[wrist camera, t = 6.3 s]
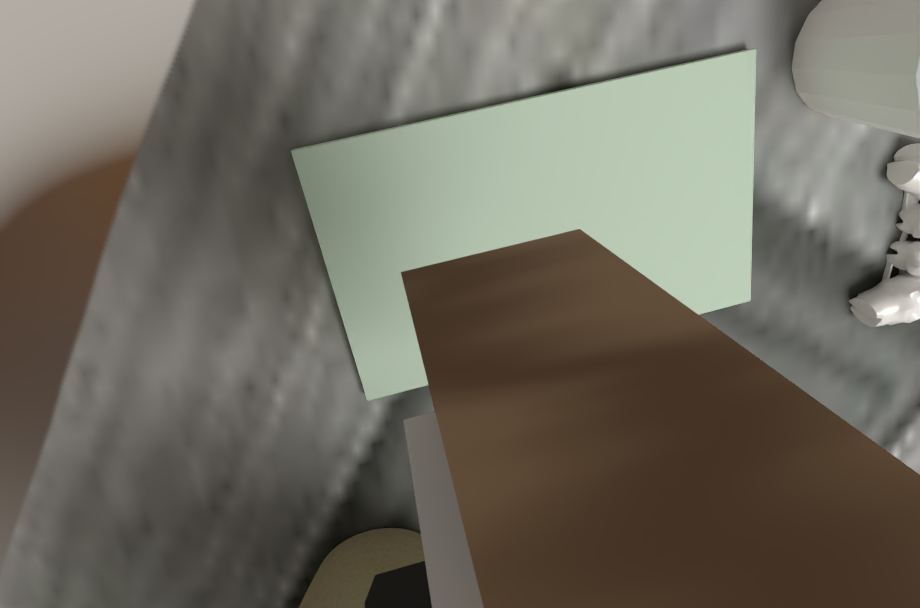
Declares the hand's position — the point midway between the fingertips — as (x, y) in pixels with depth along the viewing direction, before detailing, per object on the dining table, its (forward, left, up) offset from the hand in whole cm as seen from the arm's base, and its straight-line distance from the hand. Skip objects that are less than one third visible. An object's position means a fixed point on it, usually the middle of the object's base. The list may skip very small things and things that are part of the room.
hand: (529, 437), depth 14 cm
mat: (+5, 0, -14) cm, 15 cm away
